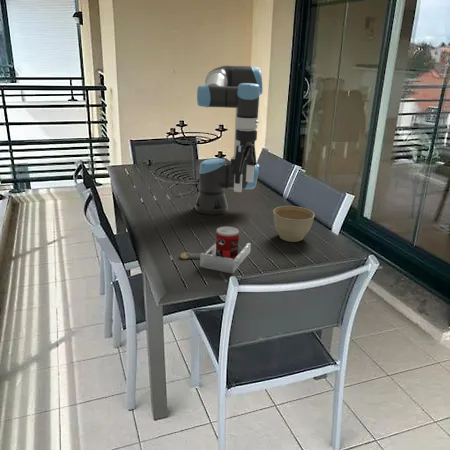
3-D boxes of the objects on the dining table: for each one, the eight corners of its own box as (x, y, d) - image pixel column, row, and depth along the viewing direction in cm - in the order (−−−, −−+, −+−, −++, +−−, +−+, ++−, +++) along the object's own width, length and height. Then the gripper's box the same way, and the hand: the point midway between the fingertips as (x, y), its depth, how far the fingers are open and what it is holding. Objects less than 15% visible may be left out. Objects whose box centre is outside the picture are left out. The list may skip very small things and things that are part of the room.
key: (180, 259, 160) (180, 256, 160) (180, 255, 163) (180, 252, 163) (202, 259, 161) (202, 256, 161) (202, 255, 164) (202, 252, 164)
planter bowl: (302, 249, 172) (305, 222, 168) (264, 239, 180) (266, 213, 176) (317, 236, 185) (320, 211, 181) (281, 227, 192) (283, 203, 188)
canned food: (214, 254, 165) (215, 226, 161) (236, 253, 166) (237, 226, 162) (216, 263, 158) (217, 234, 154) (238, 263, 159) (240, 234, 155)
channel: (200, 266, 155) (200, 253, 154) (220, 246, 172) (220, 234, 170) (232, 273, 152) (233, 260, 150) (250, 251, 168) (251, 239, 166)
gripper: (245, 136, 148) (242, 197, 156) (266, 125, 169) (263, 179, 177) (224, 133, 150) (222, 194, 158) (247, 123, 172) (245, 177, 180)
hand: (243, 186), depth 168 cm, fingers open, 13 cm apart
